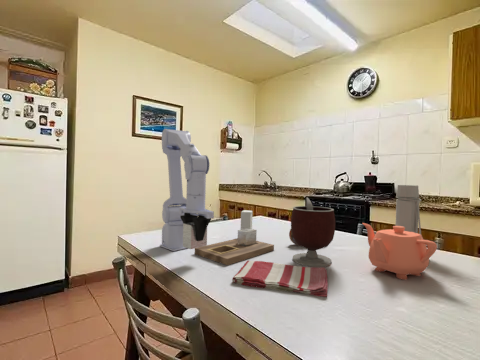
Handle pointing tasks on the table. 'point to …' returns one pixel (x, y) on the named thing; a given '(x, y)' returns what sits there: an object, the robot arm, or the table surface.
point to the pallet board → (232, 251)
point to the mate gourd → (312, 233)
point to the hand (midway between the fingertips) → (195, 239)
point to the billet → (192, 237)
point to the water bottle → (408, 208)
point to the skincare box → (246, 219)
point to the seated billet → (247, 237)
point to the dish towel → (283, 277)
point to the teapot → (399, 251)
